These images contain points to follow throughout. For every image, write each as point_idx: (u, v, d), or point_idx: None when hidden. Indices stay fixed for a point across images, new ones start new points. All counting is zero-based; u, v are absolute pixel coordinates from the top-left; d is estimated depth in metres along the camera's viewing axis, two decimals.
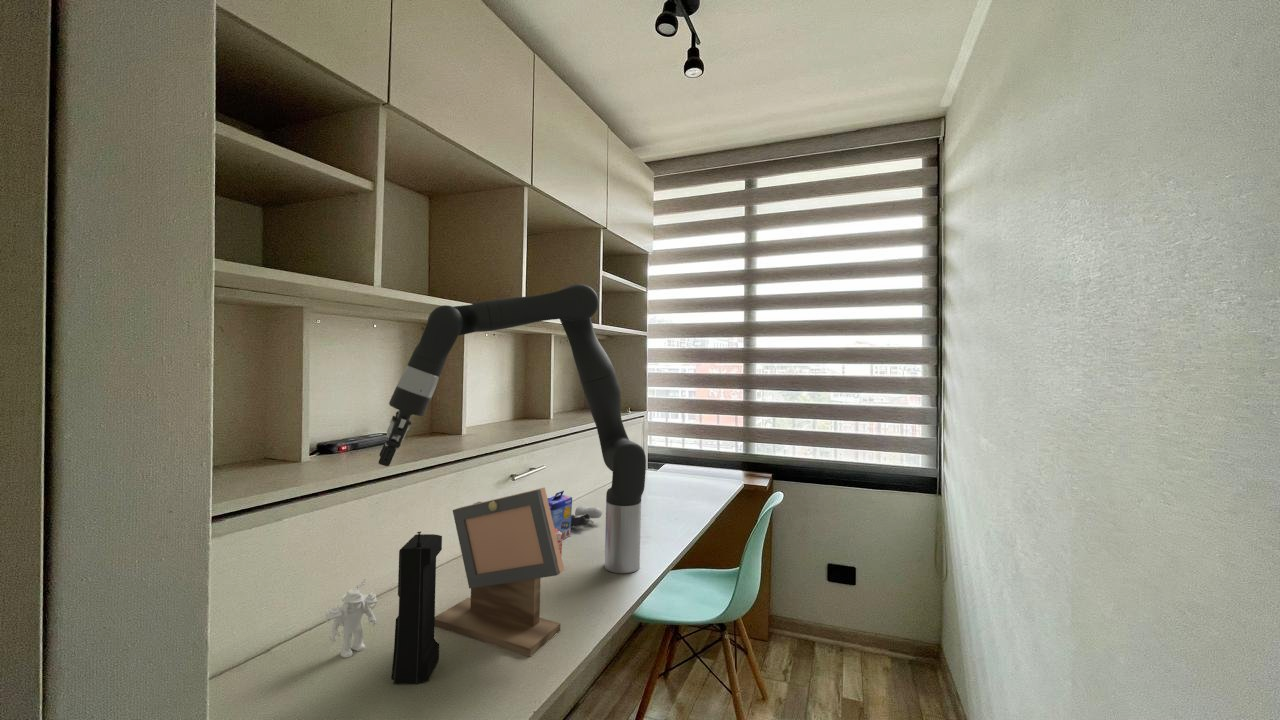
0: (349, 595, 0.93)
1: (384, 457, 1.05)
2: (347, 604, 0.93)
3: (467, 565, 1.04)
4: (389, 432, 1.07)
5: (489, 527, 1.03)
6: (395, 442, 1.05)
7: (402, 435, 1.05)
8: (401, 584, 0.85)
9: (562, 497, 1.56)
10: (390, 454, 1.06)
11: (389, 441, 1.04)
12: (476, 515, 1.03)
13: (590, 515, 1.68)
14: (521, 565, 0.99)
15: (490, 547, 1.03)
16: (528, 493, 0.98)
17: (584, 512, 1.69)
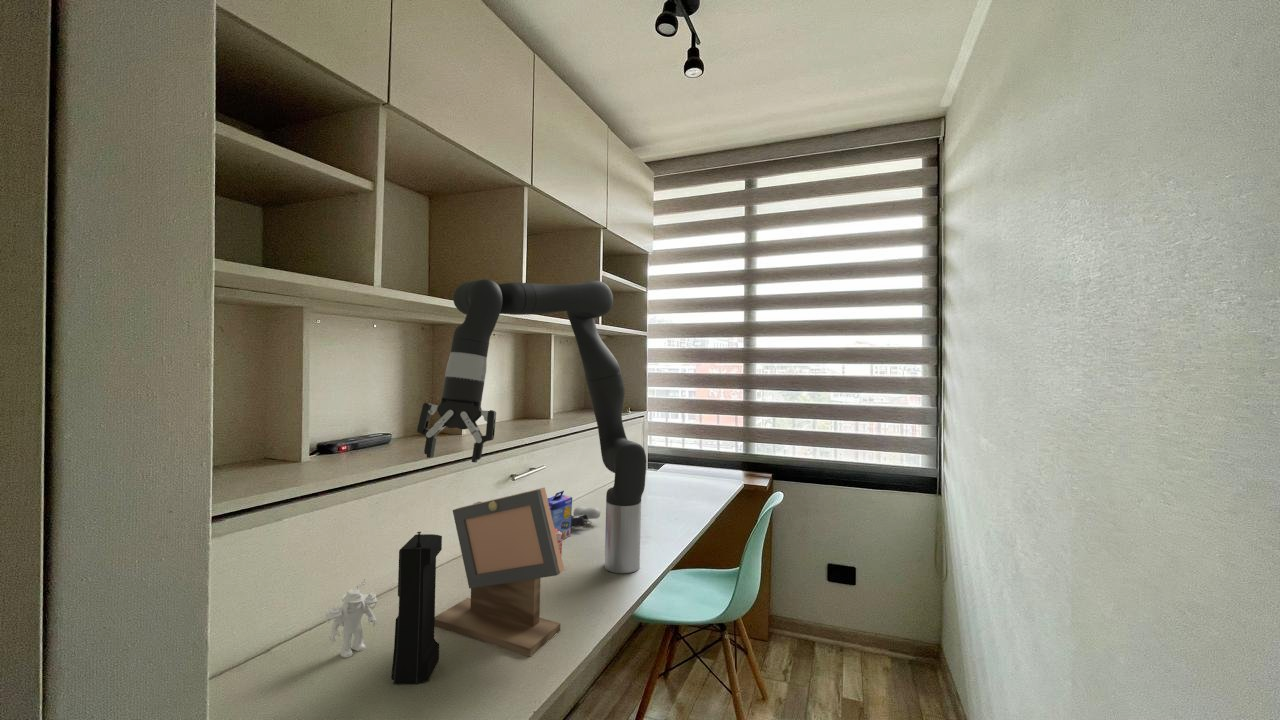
0: (349, 595, 0.93)
1: (480, 454, 1.00)
2: (347, 604, 0.93)
3: (467, 565, 1.04)
4: (475, 428, 1.00)
5: (489, 527, 1.03)
6: (492, 435, 1.02)
7: (494, 426, 1.03)
8: (401, 584, 0.85)
9: (562, 497, 1.56)
10: (482, 449, 1.01)
11: (492, 436, 1.01)
12: (476, 515, 1.03)
13: (588, 515, 1.67)
14: (521, 565, 0.99)
15: (490, 547, 1.03)
16: (528, 493, 0.98)
17: (582, 512, 1.69)
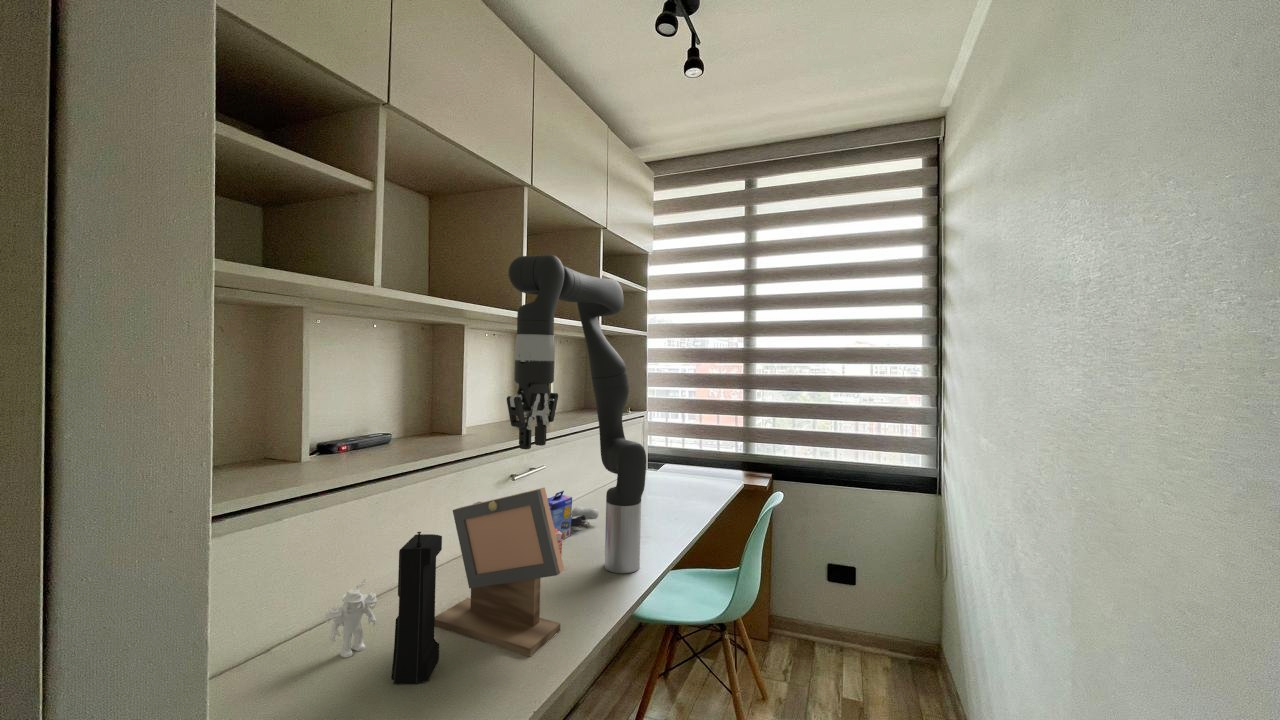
0: (349, 595, 0.93)
1: None
2: (347, 604, 0.93)
3: (467, 565, 1.04)
4: None
5: (489, 527, 1.03)
6: None
7: None
8: (401, 584, 0.85)
9: (562, 497, 1.56)
10: None
11: None
12: (476, 515, 1.03)
13: (586, 516, 1.67)
14: (521, 565, 0.99)
15: (490, 547, 1.03)
16: (528, 493, 0.98)
17: (580, 513, 1.68)
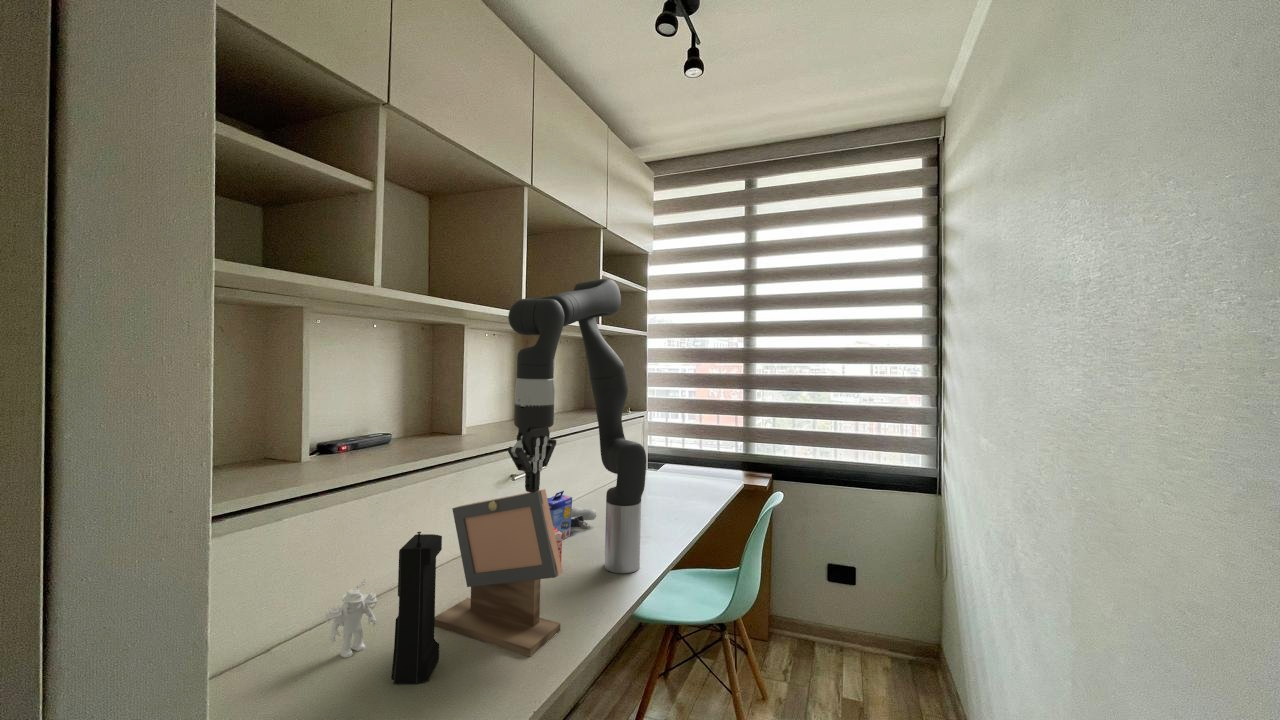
0: (349, 595, 0.93)
1: None
2: (347, 604, 0.93)
3: (465, 564, 1.04)
4: None
5: (489, 527, 1.03)
6: None
7: None
8: (401, 584, 0.85)
9: (562, 497, 1.56)
10: None
11: None
12: (476, 514, 1.03)
13: (584, 517, 1.66)
14: (520, 566, 1.00)
15: (489, 546, 1.03)
16: (528, 494, 0.98)
17: (578, 514, 1.67)
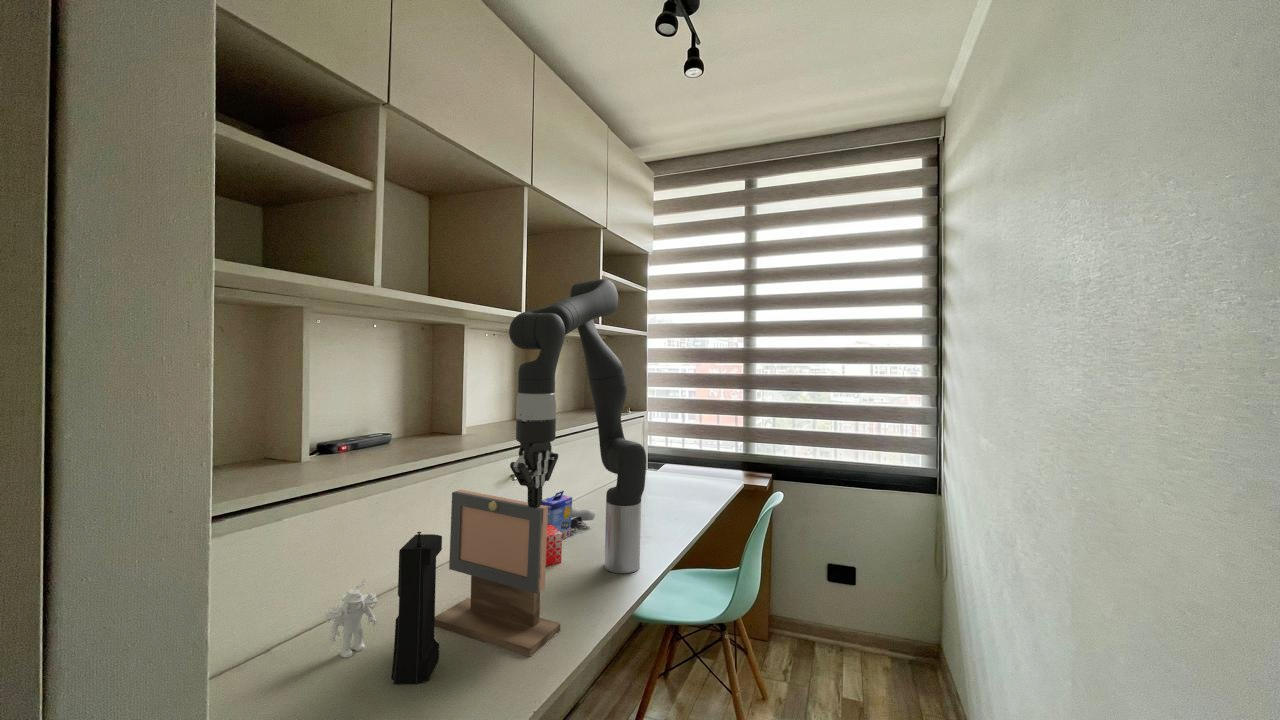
0: (349, 595, 0.93)
1: None
2: (347, 604, 0.93)
3: (453, 548, 1.06)
4: None
5: (484, 522, 1.03)
6: None
7: None
8: (401, 584, 0.85)
9: (562, 497, 1.56)
10: None
11: None
12: (474, 507, 1.04)
13: (583, 517, 1.65)
14: (505, 569, 1.01)
15: (479, 540, 1.04)
16: (531, 509, 0.98)
17: (577, 514, 1.67)
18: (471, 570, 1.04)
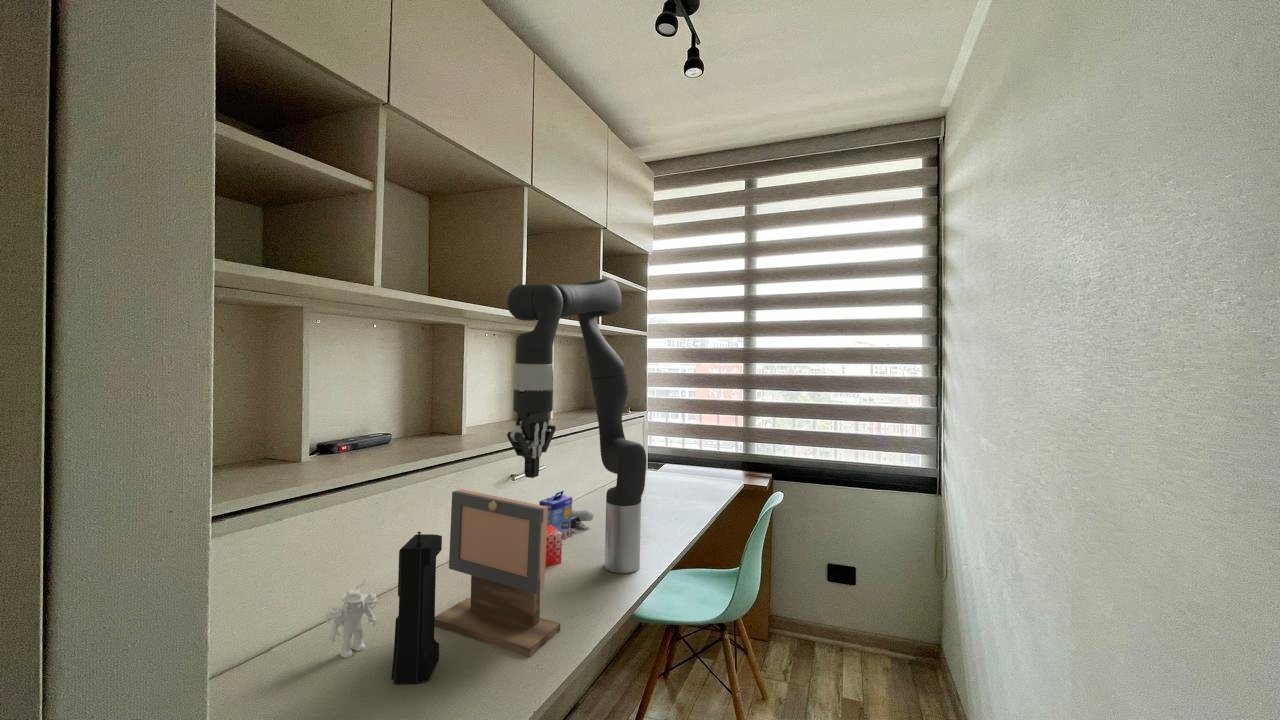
0: (349, 595, 0.93)
1: None
2: (347, 604, 0.93)
3: (452, 547, 1.06)
4: None
5: (483, 522, 1.03)
6: None
7: None
8: (401, 584, 0.85)
9: (562, 497, 1.56)
10: None
11: None
12: (474, 507, 1.04)
13: (581, 518, 1.65)
14: (504, 569, 1.01)
15: (479, 540, 1.04)
16: (531, 509, 0.98)
17: (575, 515, 1.66)
18: (471, 570, 1.04)
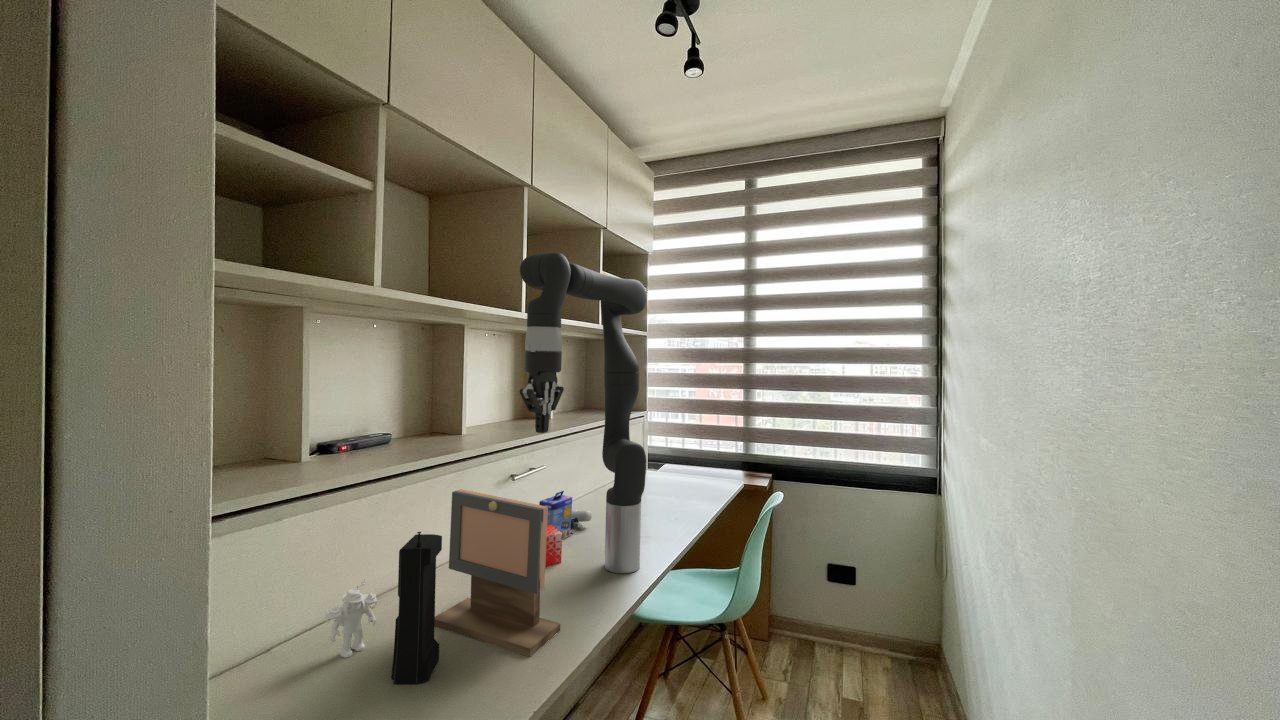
0: (349, 595, 0.93)
1: None
2: (347, 604, 0.93)
3: (452, 547, 1.06)
4: None
5: (483, 522, 1.03)
6: None
7: None
8: (401, 584, 0.85)
9: (562, 497, 1.56)
10: None
11: None
12: (474, 507, 1.04)
13: (579, 518, 1.64)
14: (504, 569, 1.01)
15: (479, 540, 1.04)
16: (531, 509, 0.98)
17: (573, 515, 1.66)
18: (471, 570, 1.04)
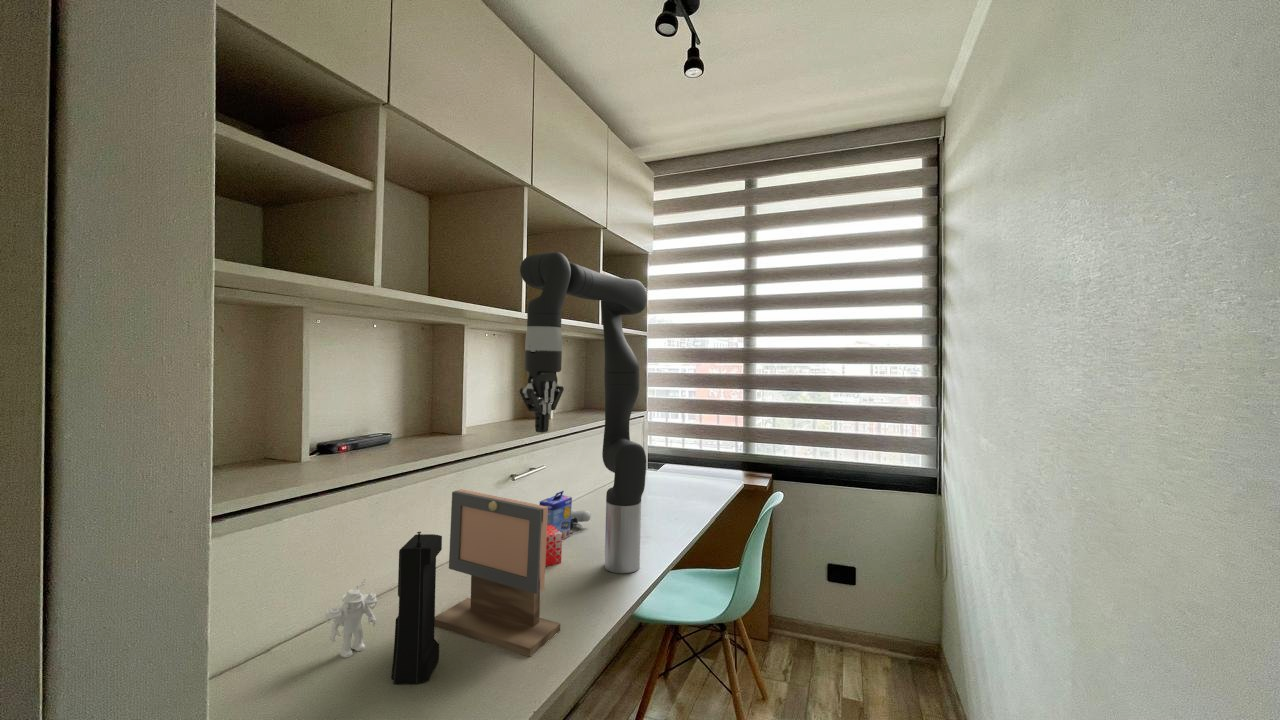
0: (349, 595, 0.93)
1: None
2: (347, 604, 0.93)
3: (452, 547, 1.06)
4: None
5: (483, 522, 1.03)
6: None
7: None
8: (401, 584, 0.85)
9: (562, 497, 1.56)
10: None
11: None
12: (474, 507, 1.04)
13: (578, 518, 1.64)
14: (504, 569, 1.01)
15: (479, 540, 1.04)
16: (531, 509, 0.98)
17: (572, 515, 1.66)
18: (471, 570, 1.04)
